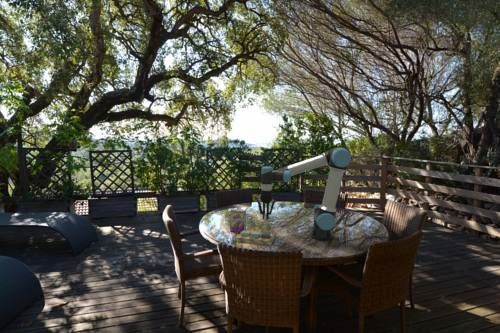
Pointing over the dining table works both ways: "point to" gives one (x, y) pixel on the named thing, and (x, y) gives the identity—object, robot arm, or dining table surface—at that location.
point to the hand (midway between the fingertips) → (265, 224)
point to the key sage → (246, 233)
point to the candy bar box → (237, 220)
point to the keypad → (255, 239)
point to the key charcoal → (266, 235)
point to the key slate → (255, 234)
